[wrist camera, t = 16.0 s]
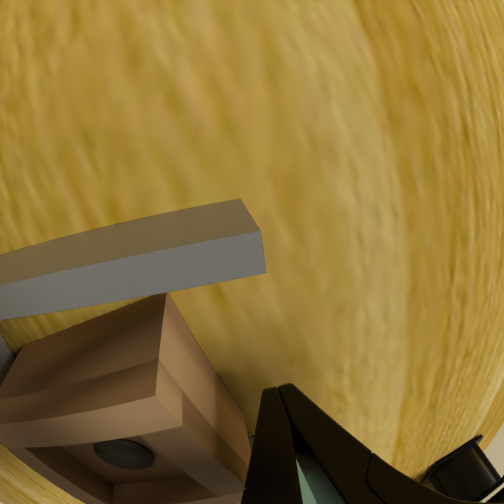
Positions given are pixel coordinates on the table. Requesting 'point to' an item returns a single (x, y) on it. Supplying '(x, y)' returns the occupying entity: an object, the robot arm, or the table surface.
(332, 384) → the table surface
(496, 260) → the table surface
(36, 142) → the table surface
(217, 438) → the walnut block
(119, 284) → the grey u-shaped bracket
